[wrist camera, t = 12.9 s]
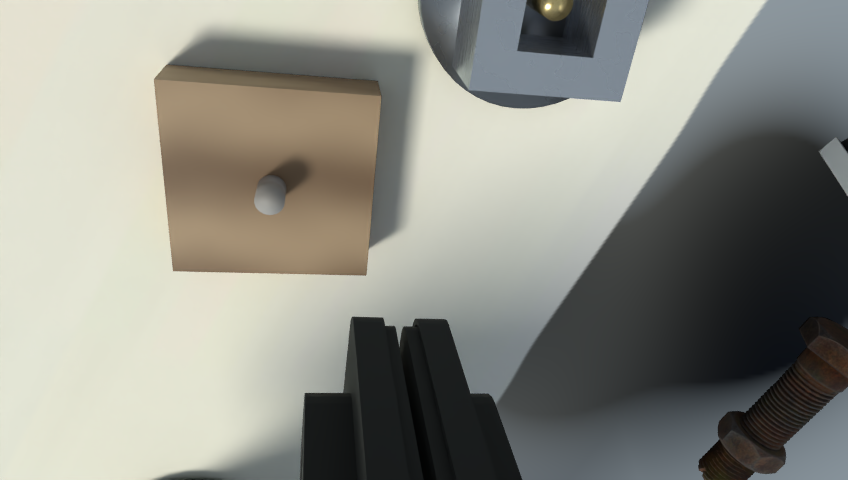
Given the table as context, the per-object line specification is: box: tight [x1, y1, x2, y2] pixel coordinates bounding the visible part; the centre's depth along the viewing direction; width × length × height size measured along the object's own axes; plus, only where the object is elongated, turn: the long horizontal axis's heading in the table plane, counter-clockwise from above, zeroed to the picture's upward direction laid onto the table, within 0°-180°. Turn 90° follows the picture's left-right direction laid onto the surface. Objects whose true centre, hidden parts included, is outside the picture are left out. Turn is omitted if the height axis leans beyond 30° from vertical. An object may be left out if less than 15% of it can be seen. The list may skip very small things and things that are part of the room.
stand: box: [154, 65, 381, 275], centre depth 31 cm, size 10×10×4 cm
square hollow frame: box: [452, 0, 649, 102], centre depth 27 cm, size 7×7×4 cm
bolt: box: [698, 317, 848, 480], centre depth 45 cm, size 6×5×15 cm
